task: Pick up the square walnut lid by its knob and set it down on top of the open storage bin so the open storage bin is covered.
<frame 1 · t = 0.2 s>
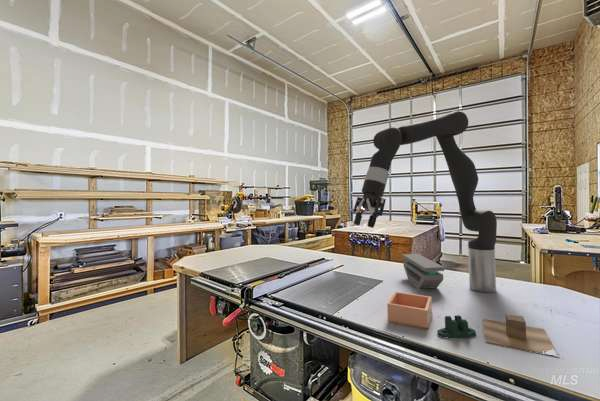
hand: (363, 225, 94), 31 cm above the table, fingers open, 8 cm apart
open storage bin: (410, 317, 90), on the table
lid: (515, 338, 76), on the table
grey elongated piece: (422, 284, 122), on the table
mount: (456, 335, 79), on the table
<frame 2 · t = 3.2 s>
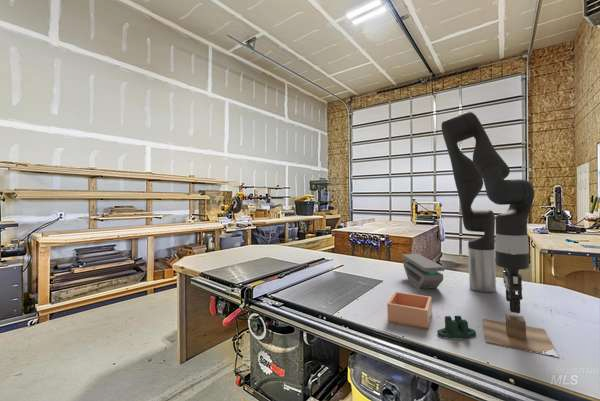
hand: (512, 306, 76), 8 cm above the table, fingers open, 8 cm apart
nothing on the table moved.
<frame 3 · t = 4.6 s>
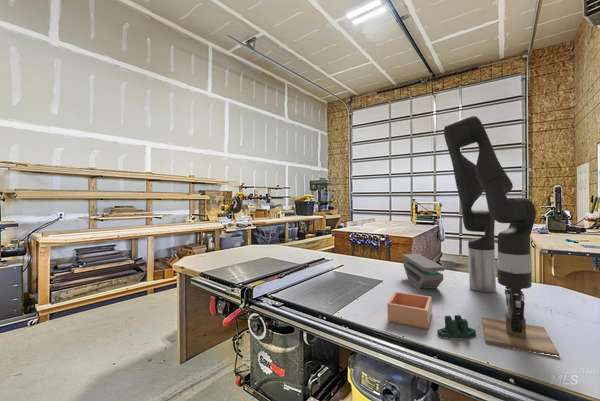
hand: (515, 327, 76), 2 cm above the table, fingers closed on lid, 4 cm apart
lid: (515, 336, 76), on the table, touching gripper
everything else where it was.
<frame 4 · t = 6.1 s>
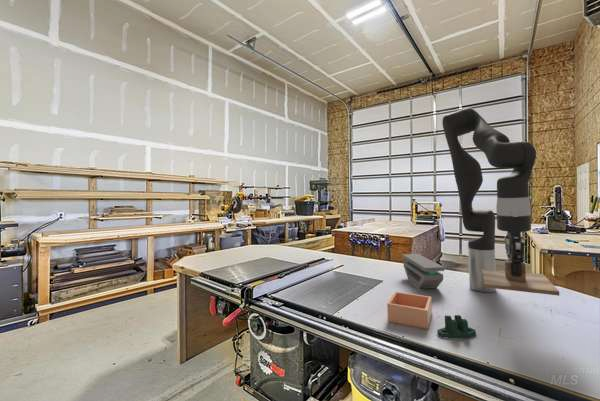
hand: (515, 273, 76), 18 cm above the table, fingers closed on lid, 4 cm apart
lid: (515, 282, 76), point 15 cm above the table, touching gripper
everything else where it was.
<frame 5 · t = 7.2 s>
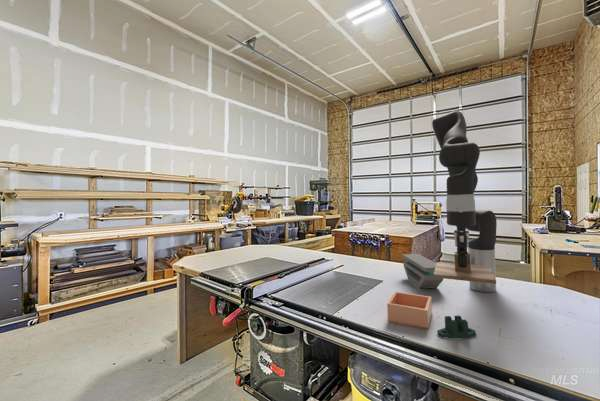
hand: (462, 265, 82), 19 cm above the table, fingers closed on lid, 4 cm apart
lid: (462, 273, 82), point 17 cm above the table, touching gripper
everything else where it was.
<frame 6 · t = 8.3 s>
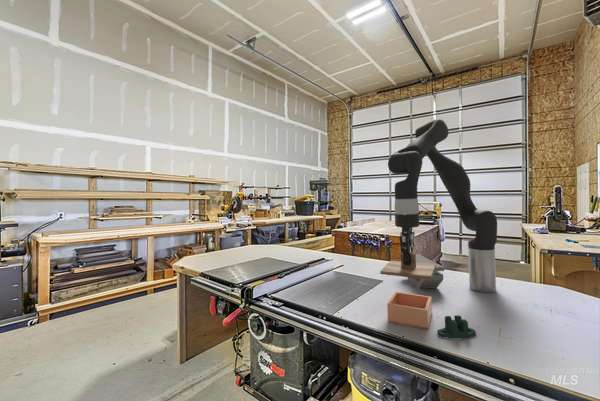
hand: (408, 263, 90), 19 cm above the table, fingers closed on lid, 4 cm apart
lid: (408, 270, 90), point 16 cm above the table, touching gripper
everything else where it was.
when the fingers open (10 cm above the table, at t = 9.6 s): lid drops 1 cm, resting on open storage bin.
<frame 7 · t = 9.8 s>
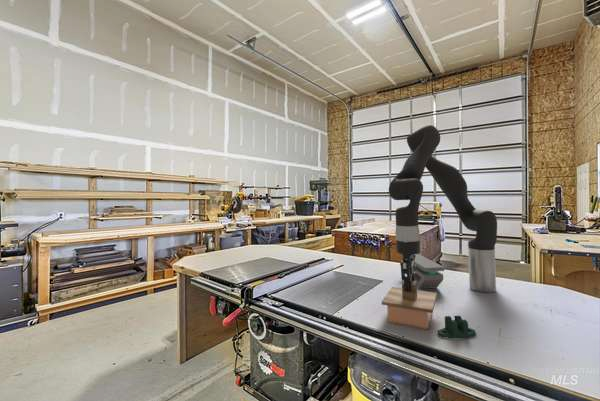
hand: (409, 288, 90), 10 cm above the table, fingers open, 5 cm apart
lid: (409, 300, 90), point 6 cm above the table, touching open storage bin
everything else where it was.
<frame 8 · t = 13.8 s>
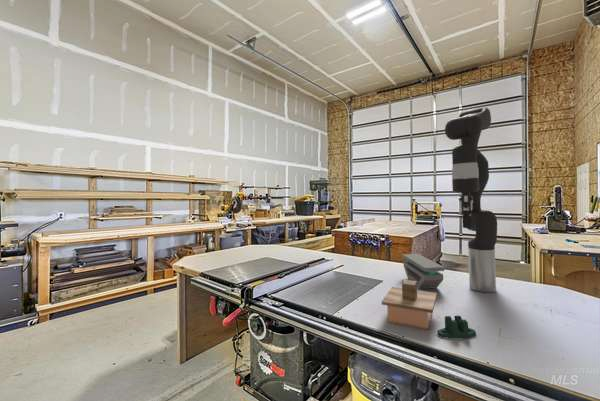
hand: (466, 226, 89), 30 cm above the table, fingers open, 8 cm apart
nothing on the table moved.
at the end: lid 0.1 cm off-centre on the open storage bin, point 6.0 cm above the open storage bin's base; lid tilted 0°; the gripper is holding nothing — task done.
